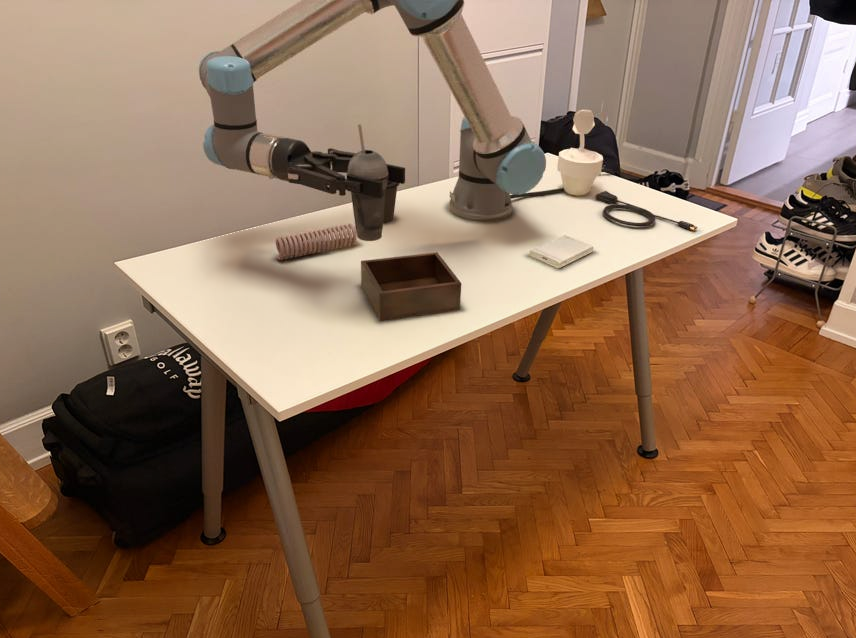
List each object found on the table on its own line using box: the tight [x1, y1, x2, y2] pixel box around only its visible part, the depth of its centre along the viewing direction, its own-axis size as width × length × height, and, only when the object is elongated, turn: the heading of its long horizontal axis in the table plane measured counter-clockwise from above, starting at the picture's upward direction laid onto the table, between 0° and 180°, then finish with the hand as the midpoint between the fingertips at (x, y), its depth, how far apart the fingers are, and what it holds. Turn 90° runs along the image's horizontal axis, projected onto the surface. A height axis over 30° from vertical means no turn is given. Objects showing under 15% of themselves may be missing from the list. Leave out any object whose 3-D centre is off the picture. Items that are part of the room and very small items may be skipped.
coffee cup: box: [383, 181, 400, 225], centre depth 166 cm, size 8×8×10 cm
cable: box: [595, 190, 698, 231], centre depth 178 cm, size 14×28×2 cm, turn 44°
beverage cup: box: [346, 123, 389, 242], centre depth 125 cm, size 7×7×20 cm
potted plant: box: [556, 102, 609, 197], centre depth 185 cm, size 13×12×25 cm
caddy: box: [360, 251, 462, 322], centre depth 137 cm, size 16×14×6 cm
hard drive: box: [529, 234, 594, 269], centre depth 158 cm, size 2×8×12 cm
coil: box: [275, 223, 359, 261], centre depth 152 cm, size 5×5×18 cm
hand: (392, 182), depth 123 cm, fingers closed on beverage cup, 7 cm apart
